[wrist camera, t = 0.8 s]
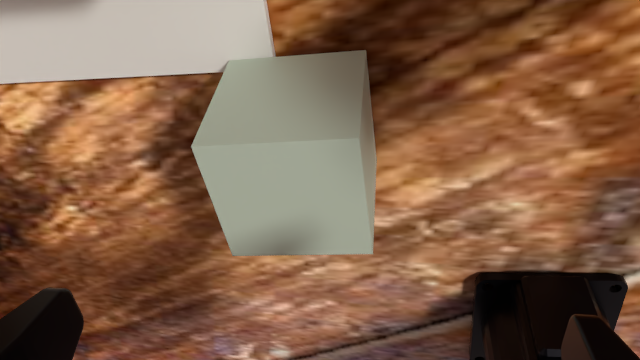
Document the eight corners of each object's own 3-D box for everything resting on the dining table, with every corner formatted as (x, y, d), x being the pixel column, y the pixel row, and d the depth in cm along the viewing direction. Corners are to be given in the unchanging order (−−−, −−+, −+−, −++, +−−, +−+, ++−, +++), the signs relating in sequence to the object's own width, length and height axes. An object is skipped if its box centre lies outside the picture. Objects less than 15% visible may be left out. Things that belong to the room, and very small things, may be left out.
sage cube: (376, 159, 22) (372, 254, 18) (258, 164, 23) (232, 255, 19) (365, 49, 19) (359, 138, 15) (229, 60, 20) (190, 146, 16)
